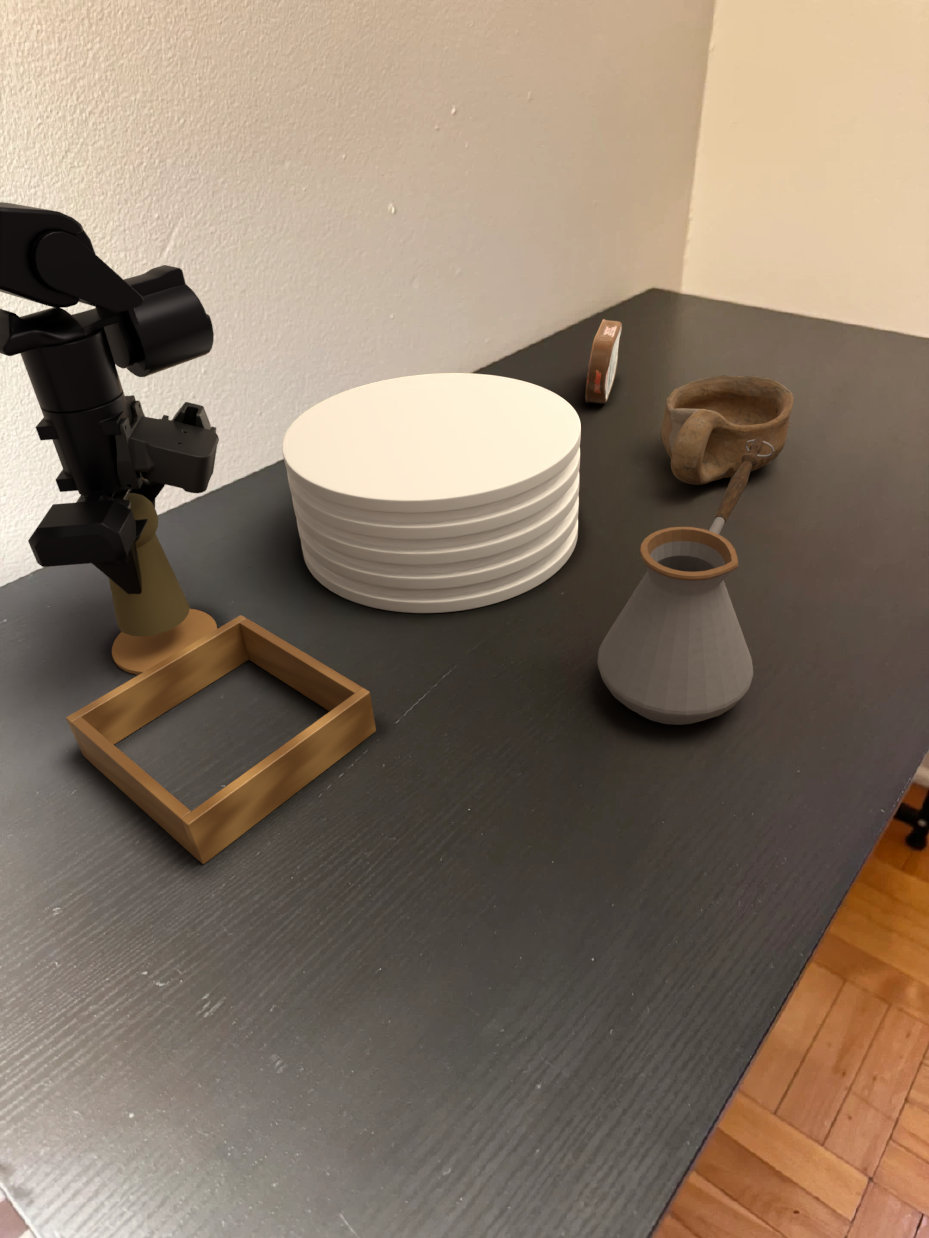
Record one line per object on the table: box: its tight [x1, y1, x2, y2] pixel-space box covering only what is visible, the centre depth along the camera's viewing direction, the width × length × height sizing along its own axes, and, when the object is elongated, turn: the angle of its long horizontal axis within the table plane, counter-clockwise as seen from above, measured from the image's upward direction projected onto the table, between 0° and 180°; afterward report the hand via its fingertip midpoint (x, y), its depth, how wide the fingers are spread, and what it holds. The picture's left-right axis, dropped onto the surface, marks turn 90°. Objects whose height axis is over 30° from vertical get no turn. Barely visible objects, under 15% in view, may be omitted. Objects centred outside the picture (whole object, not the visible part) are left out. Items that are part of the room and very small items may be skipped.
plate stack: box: [281, 372, 582, 614], centre depth 83 cm, size 28×28×12 cm
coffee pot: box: [596, 437, 774, 726], centre depth 64 cm, size 21×12×15 cm, turn 147°
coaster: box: [111, 608, 219, 676], centre depth 74 cm, size 9×9×1 cm
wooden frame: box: [65, 614, 377, 865], centre depth 62 cm, size 16×16×4 cm
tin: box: [584, 318, 623, 404], centre depth 111 cm, size 15×3×8 cm, turn 165°
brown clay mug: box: [660, 374, 795, 486], centre depth 91 cm, size 18×14×10 cm
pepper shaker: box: [108, 493, 191, 637], centre depth 69 cm, size 6×6×11 cm
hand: (142, 577), depth 70 cm, fingers closed on pepper shaker, 4 cm apart
